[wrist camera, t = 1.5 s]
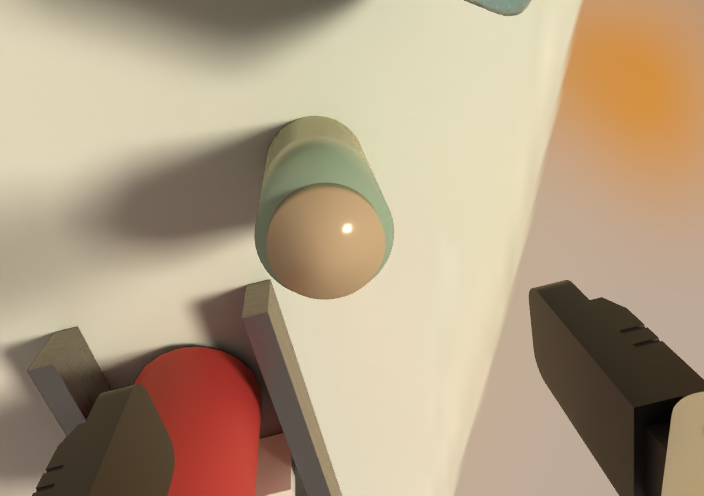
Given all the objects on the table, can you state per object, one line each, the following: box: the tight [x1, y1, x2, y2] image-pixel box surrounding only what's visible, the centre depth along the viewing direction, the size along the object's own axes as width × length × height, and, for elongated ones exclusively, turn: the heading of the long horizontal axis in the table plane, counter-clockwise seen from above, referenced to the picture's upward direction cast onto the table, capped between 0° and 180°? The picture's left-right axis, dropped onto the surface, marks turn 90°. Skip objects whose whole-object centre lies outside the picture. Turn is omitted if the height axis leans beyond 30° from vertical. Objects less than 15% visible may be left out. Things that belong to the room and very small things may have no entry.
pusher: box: [255, 433, 295, 496], centre depth 29 cm, size 1×8×4 cm, turn 103°
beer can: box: [134, 347, 262, 496], centre depth 24 cm, size 7×7×12 cm
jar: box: [255, 116, 394, 299], centre depth 20 cm, size 4×4×9 cm
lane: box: [27, 280, 342, 496], centre depth 28 cm, size 18×11×5 cm, turn 13°
